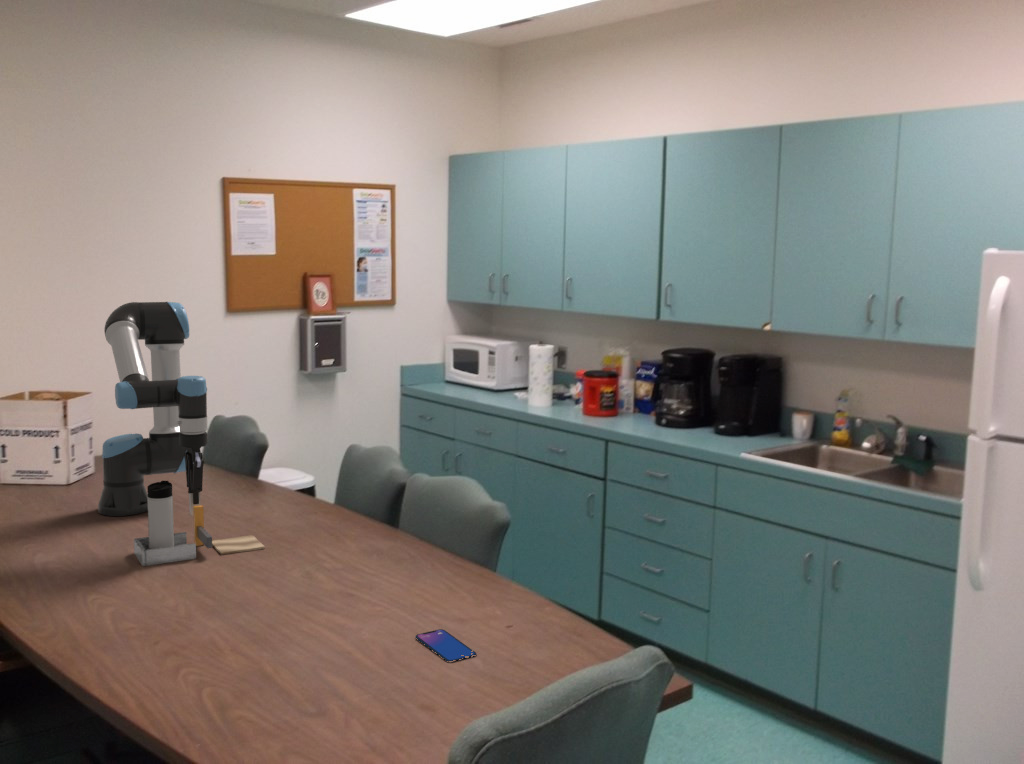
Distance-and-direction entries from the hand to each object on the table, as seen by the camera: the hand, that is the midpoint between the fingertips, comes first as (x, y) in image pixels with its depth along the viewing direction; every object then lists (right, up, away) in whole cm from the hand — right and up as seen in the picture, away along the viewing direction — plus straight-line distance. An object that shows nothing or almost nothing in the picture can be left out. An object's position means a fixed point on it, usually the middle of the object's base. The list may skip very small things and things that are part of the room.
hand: (195, 514), depth 265 cm
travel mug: (-5, -10, -13) cm, 17 cm away
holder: (-4, -9, -13) cm, 17 cm away
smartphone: (+75, -19, -65) cm, 101 cm away
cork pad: (+13, -8, -2) cm, 15 cm away
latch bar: (+5, -9, -7) cm, 12 cm away
